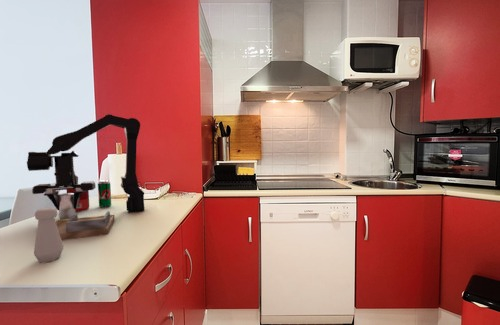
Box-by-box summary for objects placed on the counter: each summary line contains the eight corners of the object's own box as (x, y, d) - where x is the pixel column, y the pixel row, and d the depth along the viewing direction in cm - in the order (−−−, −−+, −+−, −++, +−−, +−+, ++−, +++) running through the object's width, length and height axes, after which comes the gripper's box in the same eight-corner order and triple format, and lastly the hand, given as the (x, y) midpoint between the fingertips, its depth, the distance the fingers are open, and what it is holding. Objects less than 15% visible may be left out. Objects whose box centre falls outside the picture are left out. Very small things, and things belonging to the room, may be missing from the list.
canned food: (93, 208, 113) (92, 184, 113) (76, 212, 106) (74, 187, 105) (81, 206, 116) (79, 183, 115) (63, 211, 108) (62, 186, 107)
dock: (114, 220, 95) (114, 207, 94) (108, 234, 80) (107, 219, 80) (57, 226, 88) (56, 212, 88) (38, 242, 73) (37, 226, 73)
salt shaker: (46, 254, 66) (42, 206, 65) (69, 253, 66) (65, 205, 65) (28, 265, 60) (24, 212, 59) (53, 263, 60) (49, 211, 59)
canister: (77, 217, 99) (75, 192, 99) (73, 220, 95) (72, 194, 94) (62, 218, 97) (60, 193, 97) (57, 222, 93) (56, 195, 92)
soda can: (113, 205, 119) (112, 180, 118) (106, 207, 114) (105, 181, 113) (103, 204, 119) (102, 180, 118) (96, 207, 114) (94, 181, 113)
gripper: (97, 166, 105) (99, 202, 107) (42, 168, 99) (45, 207, 100) (91, 168, 95) (93, 208, 96) (30, 171, 88) (33, 214, 89)
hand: (67, 209), depth 96 cm, fingers open, 5 cm apart
